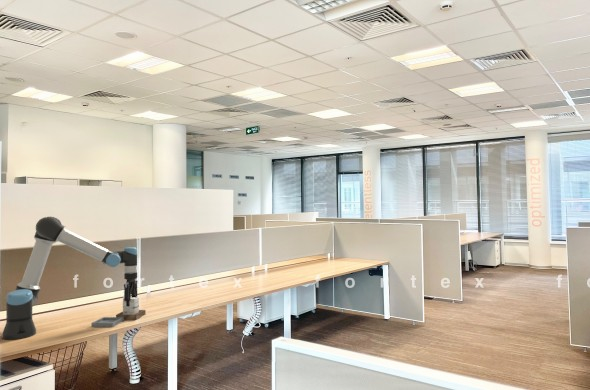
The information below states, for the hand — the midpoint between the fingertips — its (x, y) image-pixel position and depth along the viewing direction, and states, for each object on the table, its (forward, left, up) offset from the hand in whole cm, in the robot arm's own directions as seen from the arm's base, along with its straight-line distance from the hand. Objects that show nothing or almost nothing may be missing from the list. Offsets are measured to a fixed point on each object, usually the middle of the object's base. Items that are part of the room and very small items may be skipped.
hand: (131, 310), depth 260 cm
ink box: (0, 0, -5) cm, 5 cm away
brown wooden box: (0, 0, -4) cm, 4 cm away
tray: (-7, -14, -4) cm, 17 cm away
